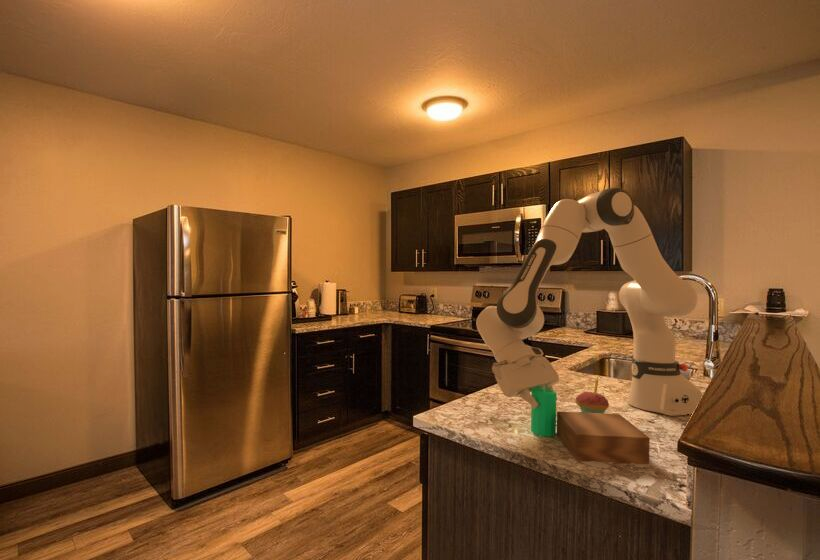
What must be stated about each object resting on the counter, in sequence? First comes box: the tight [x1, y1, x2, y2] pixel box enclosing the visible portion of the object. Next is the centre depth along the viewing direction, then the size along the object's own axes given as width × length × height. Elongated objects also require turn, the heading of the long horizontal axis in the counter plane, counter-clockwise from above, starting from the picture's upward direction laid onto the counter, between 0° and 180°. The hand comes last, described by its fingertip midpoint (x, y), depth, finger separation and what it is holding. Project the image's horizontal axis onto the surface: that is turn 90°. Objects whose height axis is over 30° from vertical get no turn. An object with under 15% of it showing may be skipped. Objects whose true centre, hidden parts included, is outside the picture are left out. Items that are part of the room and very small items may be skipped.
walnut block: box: [556, 410, 651, 465], centre depth 95 cm, size 15×15×6 cm
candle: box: [530, 388, 557, 437], centre depth 104 cm, size 6×6×12 cm
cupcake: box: [575, 377, 610, 413], centre depth 115 cm, size 9×8×12 cm
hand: (545, 404), depth 103 cm, fingers open, 6 cm apart
